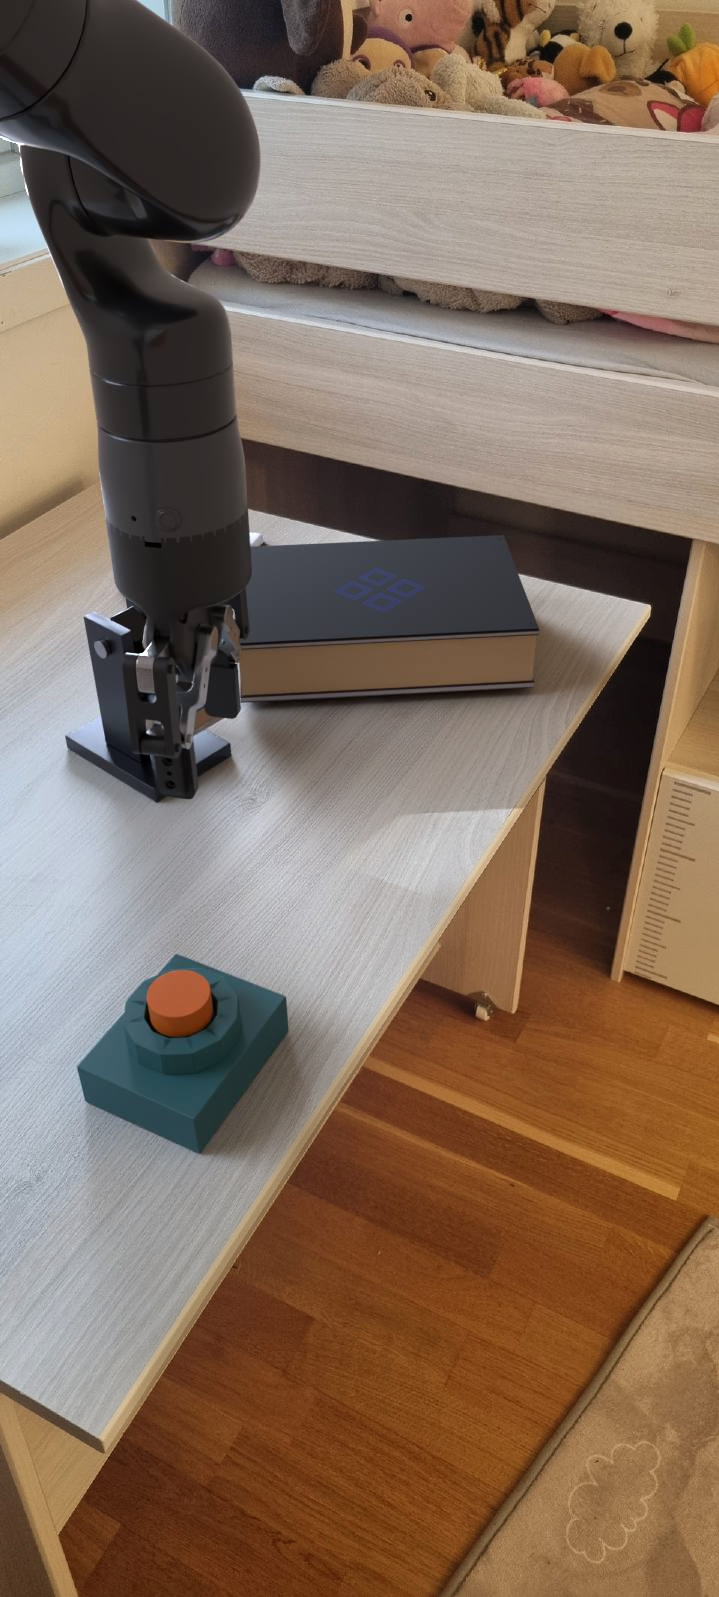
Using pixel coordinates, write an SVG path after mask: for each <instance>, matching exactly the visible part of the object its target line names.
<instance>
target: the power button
mask: <svg viewBox="0 0 719 1597" xmlns="http://www.w3.org/2000/svg"><path fill="white" fill-rule="evenodd" d="M147 1003H148V1009H149V1014H150V1020H151V1023H152V1025H153V1027H154V1028H155V1029H156V1030H157V1031H158V1032H160V1033H161V1034H163V1035H166V1036H169V1037H175V1038H180V1037H187V1036H191V1035H193V1034H196V1033H198V1032H199V1031H201V1030H202V1029H204V1028H205V1027H206V1026H207V1025H208V1023H209V1022H210V1020H211V1018H212V1015H213V1005H212V997H211V989H210V985H209V983H208V981H207V980H206V979H205V978H204V977H203V976H202V975H200V974H198V973H196V972H193V971H187V970H178V971H172V972H169V973H166V974H164V975H162V976H160V977H159V978H157V979H156V980H155V981H154V982H153V983H152V984H151V986H150V987H149V990H148V992H147Z"/></svg>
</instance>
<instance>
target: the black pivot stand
mask: <svg viewBox="0 0 719 1597" xmlns="http://www.w3.org/2000/svg"><path fill="white" fill-rule="evenodd" d="M124 598H125V597H124ZM125 604H126V609H128V608H130V607H134V608H135V609H136V610H137V611H138V612H139V613H140V614H141V615H142V616H143V617H144V618H145V619H147V615H146V614H145V612H144V611H143V610H142V609H141V608H140V607H138V606H137V605H136V604H134V603H133V602H131V601H130V600H128V599H127V598H125ZM83 622H84V628H85V633H86V639H87V644H88V651H89V655H90V662H91V667H92V673H93V679H94V684H95V690H96V695H97V696H96V697H97V702H98V708H99V712H100V713H99V714H100V716H98V717H96V718H94V719H92V720H90V721H89V722H87V723H85V724H83V725H82V726H80V727H78V728H76V729H74V730H72V731H70V732H69V733H67V734H65V735H64V738H65V743H66V748H67V750H70V751H71V752H73V753H75V754H76V755H78V756H79V757H81V758H83V759H84V760H86V761H88V762H89V763H91V764H92V765H94V766H95V767H97V768H99V769H101V770H102V771H104V772H106V773H107V774H109V775H111V776H112V777H113V778H116V779H117V780H119V781H121V782H122V783H124V784H125V785H126V786H129V787H130V788H132V789H134V790H135V791H137V792H138V793H140V794H142V795H143V796H145V797H147V798H148V799H150V800H151V801H153V802H155V803H158V802H160V801H162V800H163V799H164V798H166V797H167V796H164V795H162V794H161V793H160V792H159V789H158V782H157V774H156V767H155V759H154V755H147V754H135V753H133V752H132V748H131V740H130V731H129V722H128V714H127V705H126V697H125V688H124V679H123V671H122V662H123V658H124V656H125V654H126V653H134V654H135V651H134V644H133V637H132V631H131V630H129V629H127V628H125V627H123V626H121V625H119V624H117V623H115V622H113V621H111V620H110V619H109V618H107V617H105V616H103V615H101V614H99V613H97V612H95V611H92V612H90V613H87V614H85V615H84V616H83ZM178 711H179V722H180V718H181V706H180V705H178ZM145 721H146V720H145ZM161 724H162V723H161ZM162 725H163V724H162ZM193 741H194V750H195V759H196V768H197V778H198V777H200V776H202V775H203V774H205V773H206V772H208V771H209V770H211V769H213V768H214V767H216V766H218V765H219V764H221V763H223V762H224V761H226V760H227V759H229V758H230V757H232V746H231V742H229V741H228V740H226V739H224V738H222V737H220V736H218V735H217V734H216V733H214V732H211V731H209V730H207V729H205V730H203V731H202V732H200V733H198V734H197V735H195V736H193Z"/></svg>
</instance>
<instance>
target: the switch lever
mask: <svg viewBox="0 0 719 1597" xmlns="http://www.w3.org/2000/svg"><path fill="white" fill-rule="evenodd" d="M109 620H111V621H113V622H115V623H117V624H119V625H121V626H123V627H125V628H127V629H129V630H131V631H132V637H133V644H134V651H135V654H143V652H144V651H145V649H144V647H143V635H144V627H145V623H146V619H145V618H144V617H143V616H142V615H141V614H140V613H139V612H138V611H137V610H136V609H135V608H134V607H130V608H128V609H127V608H126V609H125V610H122V611H120V612H118V613H117V614H114V615H112V616H111V617H110V619H109ZM192 684H193V682H182V681H178V682H177V683H176V688H177V691H183V692H185V691H188V690H189V689H190V688H191V687H192ZM224 719H225V718H220V717H212V716H209V715H208V714H206V712H205V710H204V706H203V707H201V708H199V709H198V710H197V711H196V716H195V724H194V732H193V736H195V735H197V734H198V733H200V732H202V731H203V730H205V729H206V730H207V729H208V728H210V727H212V726H214V725H216V724H217V723H218V722H220V721H222V720H224Z"/></svg>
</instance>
